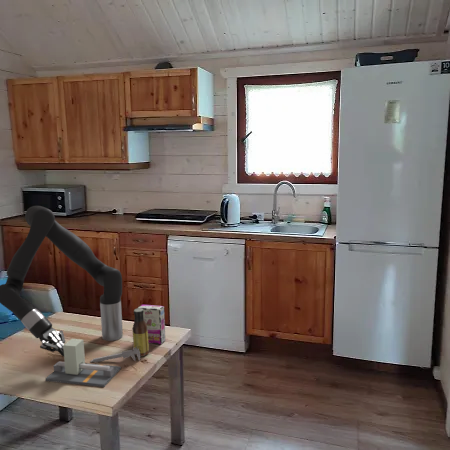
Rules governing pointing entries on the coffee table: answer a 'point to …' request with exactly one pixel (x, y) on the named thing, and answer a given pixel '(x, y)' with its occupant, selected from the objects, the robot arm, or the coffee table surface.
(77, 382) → the pipe rig
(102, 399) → the coffee table surface
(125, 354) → the caliper
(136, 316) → the sauce bottle
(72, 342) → the sage green block
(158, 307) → the candy bar box
